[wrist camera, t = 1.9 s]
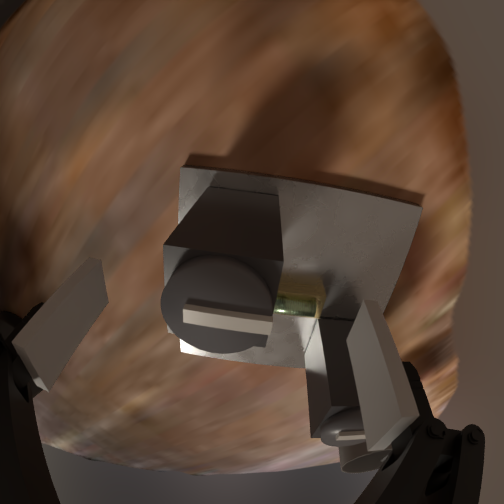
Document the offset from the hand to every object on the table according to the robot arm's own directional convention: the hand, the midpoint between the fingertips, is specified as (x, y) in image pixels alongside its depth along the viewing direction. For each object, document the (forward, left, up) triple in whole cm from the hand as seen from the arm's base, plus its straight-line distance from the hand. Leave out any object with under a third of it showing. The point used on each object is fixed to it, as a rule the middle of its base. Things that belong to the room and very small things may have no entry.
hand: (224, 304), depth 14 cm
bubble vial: (+5, -6, -10) cm, 13 cm away
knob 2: (+11, -11, -10) cm, 18 cm away
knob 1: (0, 0, -10) cm, 10 cm away
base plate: (+5, -6, -11) cm, 14 cm away
